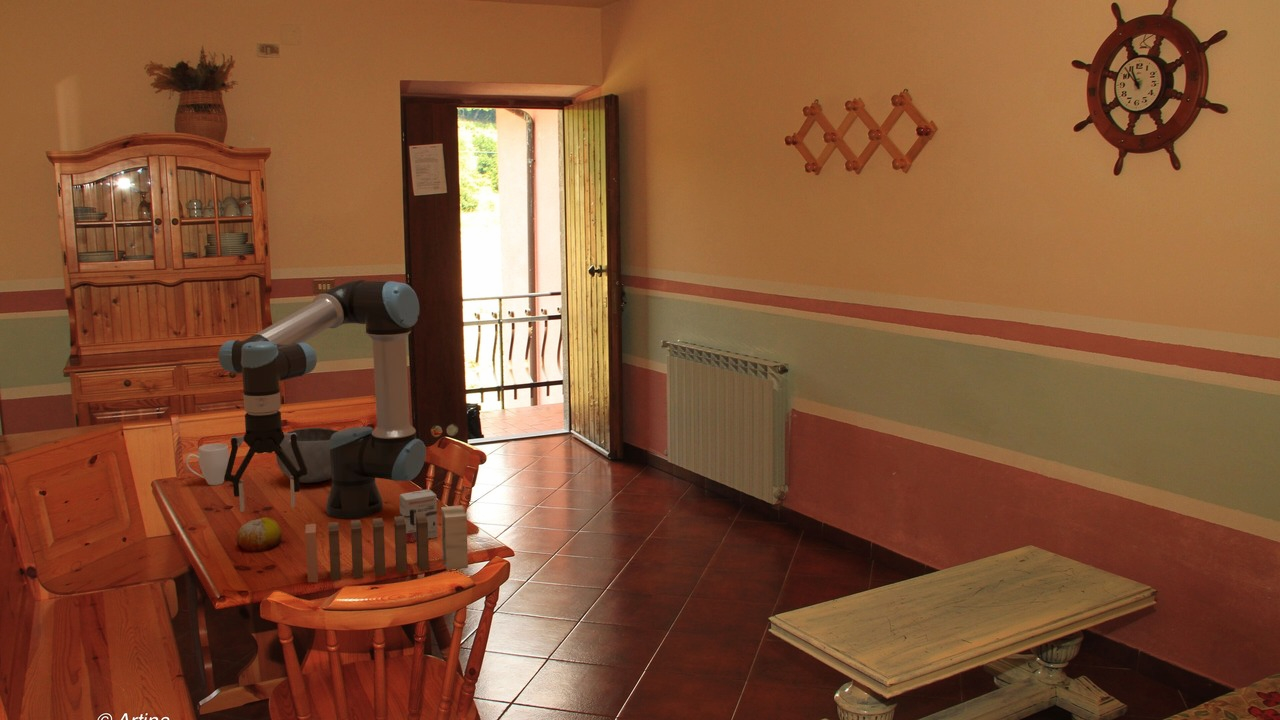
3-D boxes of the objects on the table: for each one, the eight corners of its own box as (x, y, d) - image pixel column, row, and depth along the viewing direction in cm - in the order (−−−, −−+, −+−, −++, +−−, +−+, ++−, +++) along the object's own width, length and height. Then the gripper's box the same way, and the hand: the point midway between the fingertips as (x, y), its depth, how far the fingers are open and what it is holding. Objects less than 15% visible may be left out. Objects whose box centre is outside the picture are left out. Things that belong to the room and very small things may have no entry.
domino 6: (417, 562, 239) (415, 514, 237) (426, 561, 240) (425, 514, 238) (419, 571, 234) (418, 522, 232) (429, 570, 234) (427, 522, 232)
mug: (227, 477, 305) (224, 441, 303) (233, 484, 299) (230, 447, 297) (185, 483, 299) (182, 447, 297) (190, 490, 292) (187, 453, 290)
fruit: (244, 535, 255) (252, 507, 254) (283, 547, 255) (291, 519, 254) (226, 550, 244) (234, 520, 243) (267, 562, 244) (275, 533, 243)
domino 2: (330, 571, 233) (328, 522, 231) (340, 570, 234) (338, 521, 232) (330, 581, 228) (328, 531, 225) (340, 579, 228) (338, 530, 226)
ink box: (406, 543, 251) (405, 499, 249) (399, 537, 256) (398, 493, 253) (438, 537, 256) (437, 493, 254) (431, 531, 260) (430, 488, 258)
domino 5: (395, 564, 238) (394, 516, 236) (405, 563, 238) (403, 515, 236) (397, 573, 232) (396, 525, 230) (407, 572, 233) (405, 524, 231)
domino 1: (308, 573, 232) (305, 524, 230) (318, 572, 232) (315, 523, 230) (307, 583, 226) (305, 533, 224) (318, 582, 227) (315, 532, 225)
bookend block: (442, 558, 242) (441, 507, 240) (463, 555, 244) (462, 505, 241) (446, 570, 235) (445, 517, 232) (467, 567, 236) (466, 515, 234)
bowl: (336, 491, 293) (334, 442, 290) (267, 490, 293) (264, 441, 291) (356, 471, 313) (354, 425, 311) (292, 470, 313) (289, 424, 311)
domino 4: (374, 566, 236) (372, 518, 234) (383, 565, 237) (382, 517, 235) (375, 576, 231) (374, 527, 228) (385, 575, 231) (383, 526, 229)
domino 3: (352, 569, 235) (350, 520, 233) (362, 568, 235) (360, 519, 233) (353, 578, 229) (351, 529, 227) (363, 577, 230) (361, 528, 228)
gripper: (205, 418, 212) (212, 517, 216) (316, 412, 219) (321, 508, 223) (209, 410, 219) (215, 507, 223) (316, 405, 226) (320, 498, 230)
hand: (268, 507), depth 223 cm, fingers open, 10 cm apart
